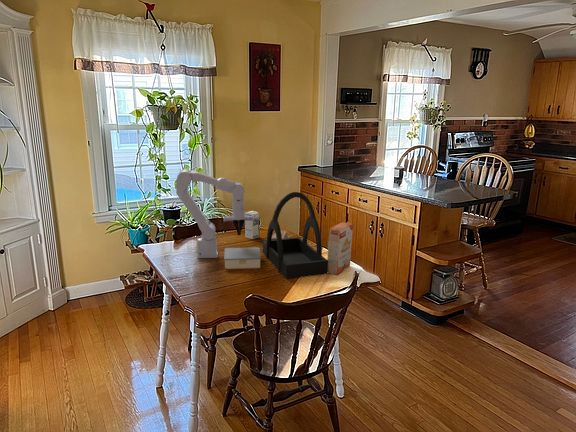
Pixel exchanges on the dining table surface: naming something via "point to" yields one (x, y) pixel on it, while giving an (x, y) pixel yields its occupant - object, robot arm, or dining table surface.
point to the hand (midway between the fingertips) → (239, 234)
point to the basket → (295, 246)
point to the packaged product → (283, 234)
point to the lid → (242, 253)
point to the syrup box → (252, 225)
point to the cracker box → (339, 247)
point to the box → (242, 264)
